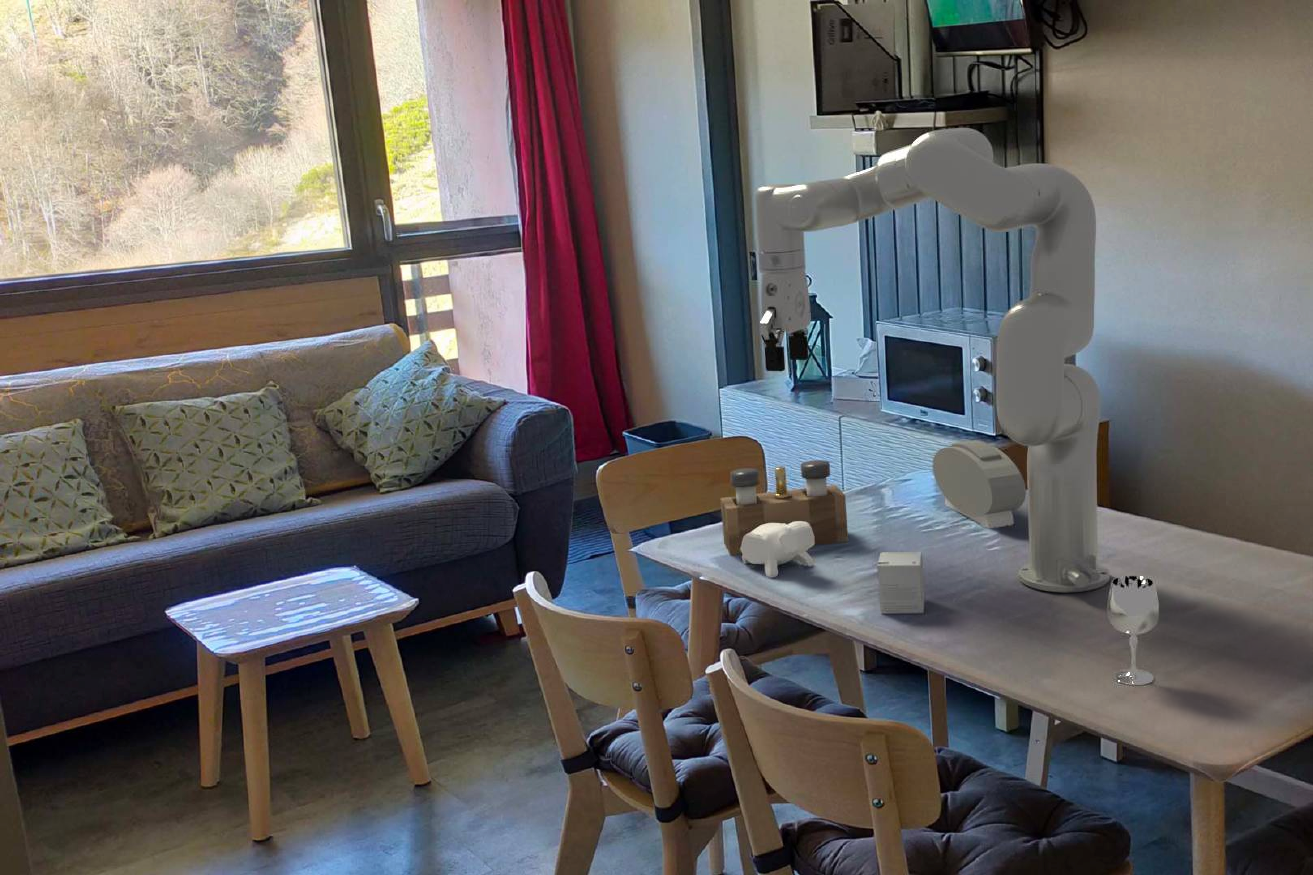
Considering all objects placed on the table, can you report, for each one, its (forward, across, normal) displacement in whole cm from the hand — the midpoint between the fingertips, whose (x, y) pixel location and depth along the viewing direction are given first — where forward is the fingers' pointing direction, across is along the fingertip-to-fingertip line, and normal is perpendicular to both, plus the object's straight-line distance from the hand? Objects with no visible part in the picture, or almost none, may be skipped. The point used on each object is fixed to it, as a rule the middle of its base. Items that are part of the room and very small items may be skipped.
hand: (787, 365), depth 212 cm
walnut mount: (+30, -3, +1) cm, 30 cm away
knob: (+26, +1, -4) cm, 26 cm away
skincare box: (+30, -27, -28) cm, 49 cm away
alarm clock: (+30, +19, -26) cm, 44 cm away
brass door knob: (+22, -3, +1) cm, 22 cm away
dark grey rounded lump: (+26, -6, +6) cm, 27 cm away
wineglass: (+29, -42, -62) cm, 80 cm away
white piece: (+30, -16, -4) cm, 34 cm away
